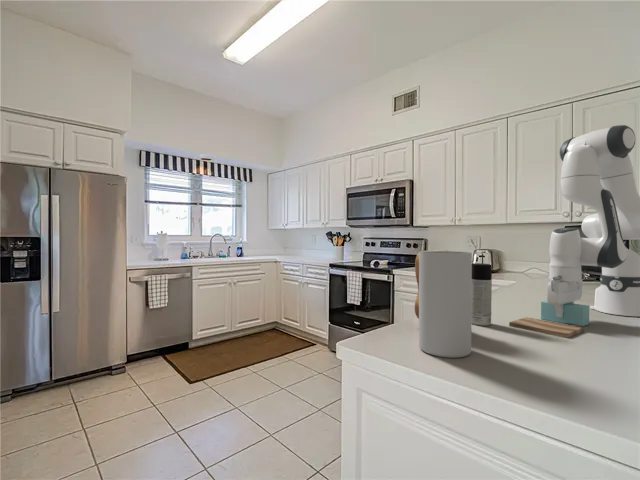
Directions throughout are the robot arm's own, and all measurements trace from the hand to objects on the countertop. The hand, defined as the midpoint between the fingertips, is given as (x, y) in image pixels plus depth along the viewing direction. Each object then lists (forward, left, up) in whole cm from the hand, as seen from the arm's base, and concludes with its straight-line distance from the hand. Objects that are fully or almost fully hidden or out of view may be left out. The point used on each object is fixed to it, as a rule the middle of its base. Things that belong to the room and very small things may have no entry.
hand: (564, 315), depth 114 cm
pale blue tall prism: (0, 0, -2) cm, 2 cm away
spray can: (+26, -15, -2) cm, 31 cm away
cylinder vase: (+60, -6, -2) cm, 60 cm away
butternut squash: (+44, -19, -2) cm, 48 cm away
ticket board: (+15, 0, -2) cm, 16 cm away
